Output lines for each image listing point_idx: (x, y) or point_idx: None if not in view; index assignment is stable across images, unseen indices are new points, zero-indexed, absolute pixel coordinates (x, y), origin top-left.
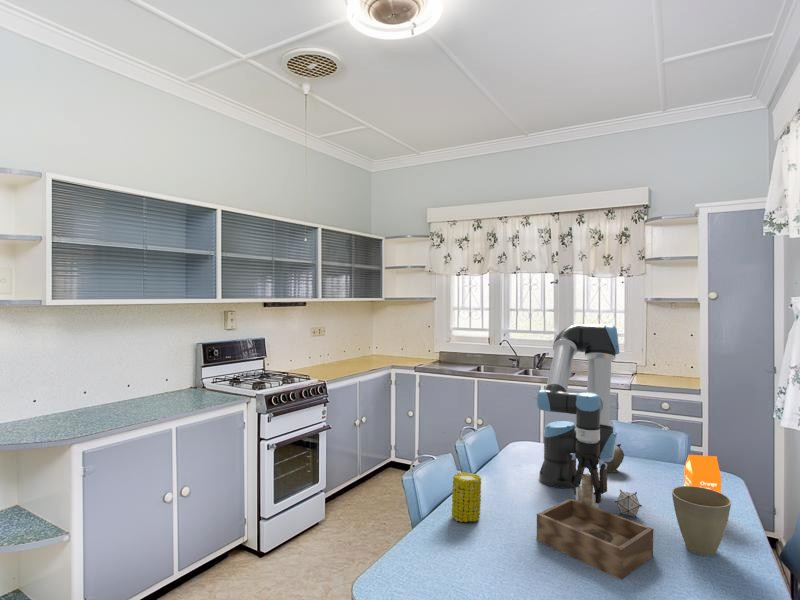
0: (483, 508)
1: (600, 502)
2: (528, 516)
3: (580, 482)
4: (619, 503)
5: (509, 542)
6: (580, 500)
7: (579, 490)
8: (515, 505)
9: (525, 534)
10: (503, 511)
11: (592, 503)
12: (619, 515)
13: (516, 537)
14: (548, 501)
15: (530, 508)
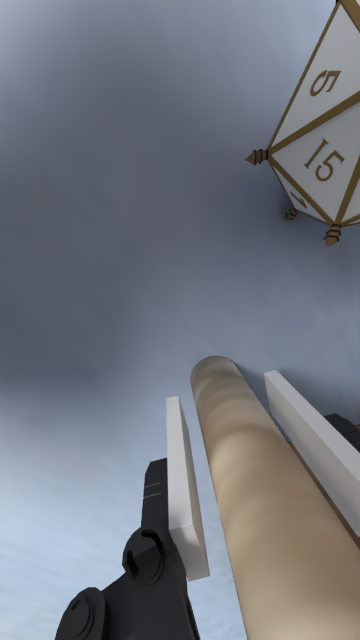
0: (11, 626)
1: (335, 414)
2: (116, 549)
3: (180, 589)
4: (354, 222)
5: (224, 632)
6: (185, 433)
7: (199, 521)
8: (15, 548)
9: (211, 595)
10: (52, 592)
11: (299, 451)
12: (285, 219)
13: (212, 615)
14: (10, 426)
15: (57, 518)
